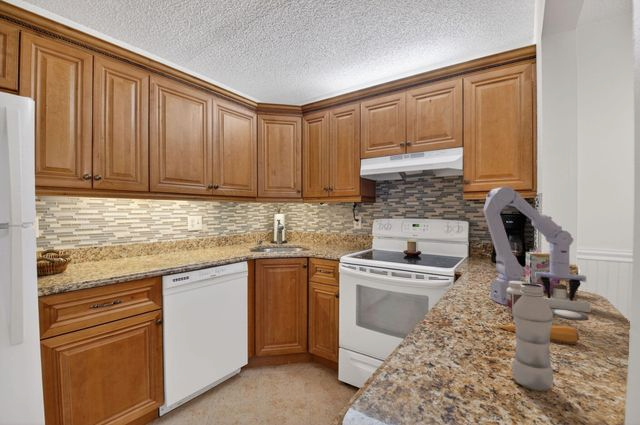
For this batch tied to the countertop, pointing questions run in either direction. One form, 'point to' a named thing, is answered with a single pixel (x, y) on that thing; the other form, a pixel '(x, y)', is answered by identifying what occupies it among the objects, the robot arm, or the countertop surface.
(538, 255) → the candy bar box
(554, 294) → the spice jar
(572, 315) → the ring mat
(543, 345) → the plastic bottle
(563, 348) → the countertop surface
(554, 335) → the carrot
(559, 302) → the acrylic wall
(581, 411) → the countertop surface
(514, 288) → the pill bottle
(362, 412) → the countertop surface
